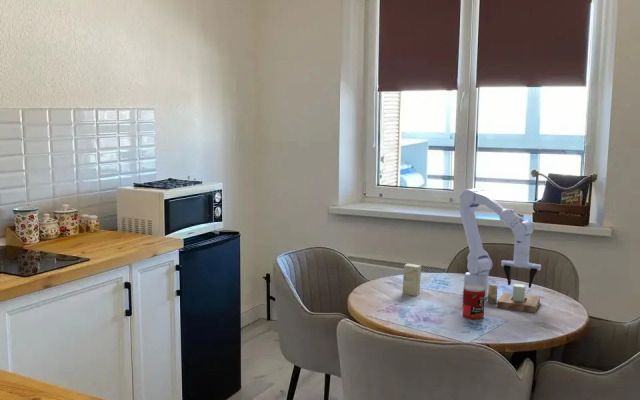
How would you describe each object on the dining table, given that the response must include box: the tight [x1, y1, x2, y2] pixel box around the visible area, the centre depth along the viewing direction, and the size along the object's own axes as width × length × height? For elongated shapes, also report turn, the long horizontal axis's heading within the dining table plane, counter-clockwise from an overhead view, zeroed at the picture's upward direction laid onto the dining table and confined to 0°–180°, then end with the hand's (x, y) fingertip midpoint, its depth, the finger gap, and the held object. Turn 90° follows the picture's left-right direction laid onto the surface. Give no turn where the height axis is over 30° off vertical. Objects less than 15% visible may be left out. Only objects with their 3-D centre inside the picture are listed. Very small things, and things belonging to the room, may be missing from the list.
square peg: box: [512, 283, 526, 302], centre depth 238 cm, size 4×4×8 cm
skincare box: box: [402, 263, 422, 297], centre depth 252 cm, size 6×4×12 cm
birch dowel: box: [487, 283, 499, 304], centre depth 242 cm, size 4×4×7 cm
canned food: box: [462, 284, 486, 320], centre depth 224 cm, size 8×8×11 cm
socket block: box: [496, 291, 541, 314], centre depth 239 cm, size 14×14×2 cm
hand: (519, 285), depth 238 cm, fingers open, 7 cm apart
